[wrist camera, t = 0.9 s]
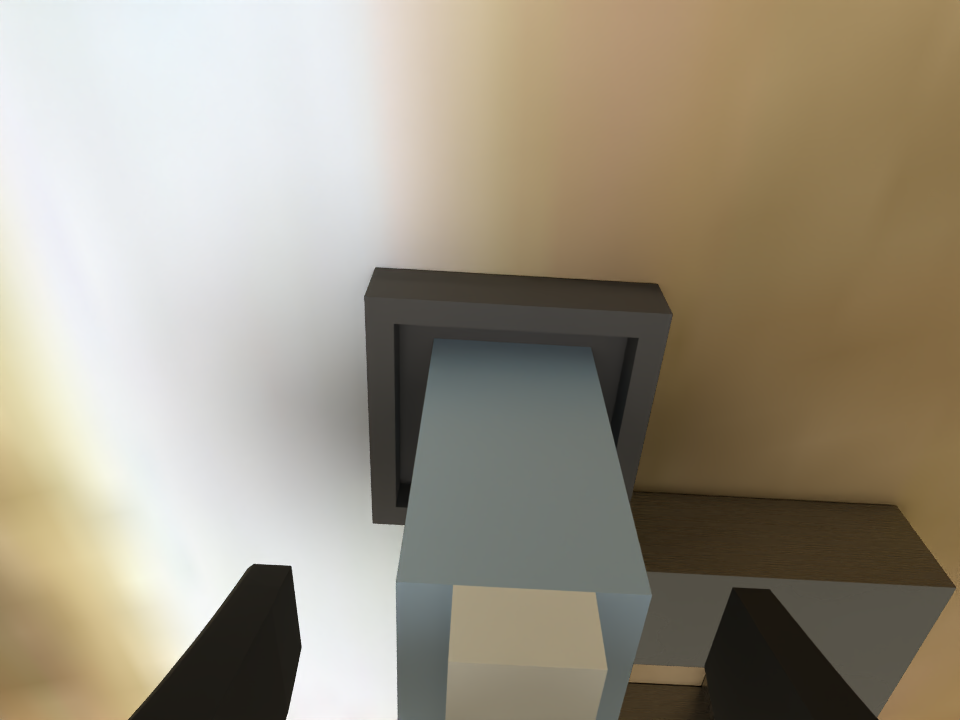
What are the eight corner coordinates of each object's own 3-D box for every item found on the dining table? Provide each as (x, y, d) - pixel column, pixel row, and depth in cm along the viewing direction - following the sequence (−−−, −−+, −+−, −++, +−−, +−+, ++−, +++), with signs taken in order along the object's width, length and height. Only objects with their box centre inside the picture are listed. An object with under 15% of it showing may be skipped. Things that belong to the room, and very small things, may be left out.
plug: (590, 347, 15) (671, 672, 8) (571, 468, 17) (623, 818, 10) (434, 338, 15) (383, 658, 8) (431, 461, 17) (388, 808, 10)
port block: (897, 506, 19) (956, 587, 16) (774, 749, 25) (804, 835, 22) (461, 482, 18) (456, 561, 16) (448, 733, 25) (443, 817, 22)
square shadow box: (657, 284, 15) (672, 314, 14) (613, 496, 19) (622, 536, 17) (375, 267, 15) (364, 296, 14) (381, 483, 19) (372, 523, 17)
